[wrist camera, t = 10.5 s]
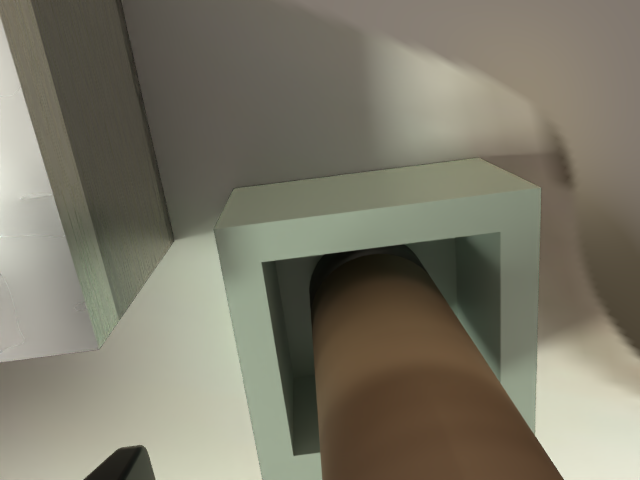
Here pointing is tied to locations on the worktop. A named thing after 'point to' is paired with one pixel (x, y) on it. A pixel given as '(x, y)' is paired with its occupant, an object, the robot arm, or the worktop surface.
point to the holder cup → (363, 233)
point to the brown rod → (407, 380)
